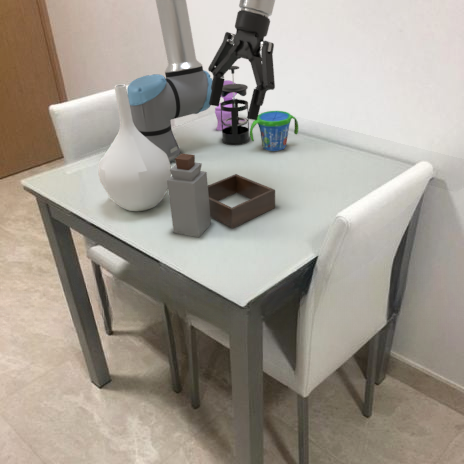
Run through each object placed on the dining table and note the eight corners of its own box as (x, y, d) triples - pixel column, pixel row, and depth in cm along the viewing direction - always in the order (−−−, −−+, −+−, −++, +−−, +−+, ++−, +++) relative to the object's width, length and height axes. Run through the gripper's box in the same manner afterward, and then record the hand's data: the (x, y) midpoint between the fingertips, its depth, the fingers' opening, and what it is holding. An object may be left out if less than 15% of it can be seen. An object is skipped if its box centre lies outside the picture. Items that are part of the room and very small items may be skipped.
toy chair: (213, 130, 178) (210, 85, 169) (220, 122, 185) (217, 78, 175) (235, 131, 176) (233, 86, 167) (242, 123, 183) (240, 79, 173)
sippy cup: (253, 156, 157) (252, 123, 151) (247, 144, 165) (246, 113, 159) (302, 151, 158) (303, 118, 152) (293, 139, 167) (294, 108, 160)
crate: (195, 209, 130) (193, 191, 127) (236, 191, 138) (235, 173, 135) (232, 228, 121) (231, 209, 118) (275, 207, 129) (275, 189, 126)
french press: (249, 145, 164) (247, 70, 150) (221, 146, 165) (216, 71, 151) (250, 133, 174) (248, 61, 160) (222, 134, 174) (218, 62, 160)
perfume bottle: (173, 232, 121) (164, 160, 110) (186, 219, 126) (178, 149, 115) (199, 237, 119) (191, 164, 108) (210, 223, 124) (205, 152, 113)
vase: (183, 190, 140) (170, 75, 122) (161, 221, 126) (142, 97, 108) (122, 186, 143) (100, 75, 125) (94, 217, 129) (65, 96, 111)
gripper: (307, 25, 107) (279, 127, 116) (229, 10, 122) (210, 102, 131) (285, 16, 102) (258, 123, 111) (206, 2, 117) (188, 98, 125)
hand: (232, 112), depth 121 cm, fingers open, 13 cm apart
